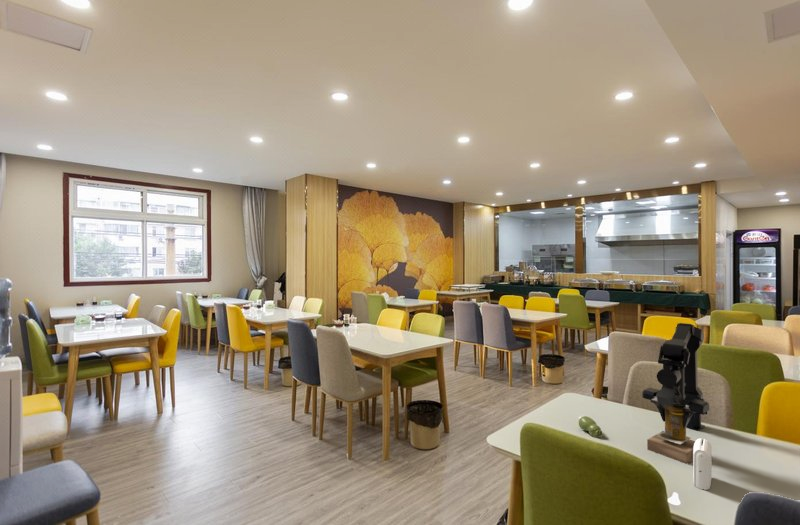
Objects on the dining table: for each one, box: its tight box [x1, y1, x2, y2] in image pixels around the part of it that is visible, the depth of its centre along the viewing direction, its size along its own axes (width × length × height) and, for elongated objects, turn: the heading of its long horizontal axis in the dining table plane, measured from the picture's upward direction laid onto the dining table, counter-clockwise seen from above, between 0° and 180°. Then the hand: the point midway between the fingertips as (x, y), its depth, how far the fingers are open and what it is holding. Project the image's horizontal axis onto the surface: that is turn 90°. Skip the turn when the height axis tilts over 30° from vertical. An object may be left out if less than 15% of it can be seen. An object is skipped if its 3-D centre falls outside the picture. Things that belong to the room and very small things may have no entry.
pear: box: [578, 415, 603, 438], centre depth 154 cm, size 6×5×10 cm
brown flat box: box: [646, 430, 696, 465], centre depth 138 cm, size 12×12×4 cm
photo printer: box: [692, 437, 713, 491], centre depth 120 cm, size 10×4×12 cm, turn 140°
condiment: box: [657, 404, 691, 444], centre depth 138 cm, size 7×8×12 cm
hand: (674, 424), depth 138 cm, fingers closed on condiment, 6 cm apart
